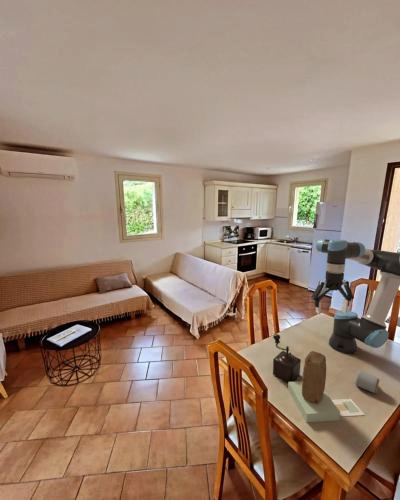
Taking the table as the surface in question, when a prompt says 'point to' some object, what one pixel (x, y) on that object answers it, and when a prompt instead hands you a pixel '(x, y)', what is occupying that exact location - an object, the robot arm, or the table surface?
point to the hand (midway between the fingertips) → (331, 312)
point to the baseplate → (313, 405)
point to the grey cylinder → (367, 381)
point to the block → (314, 377)
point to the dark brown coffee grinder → (285, 364)
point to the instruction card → (347, 407)
